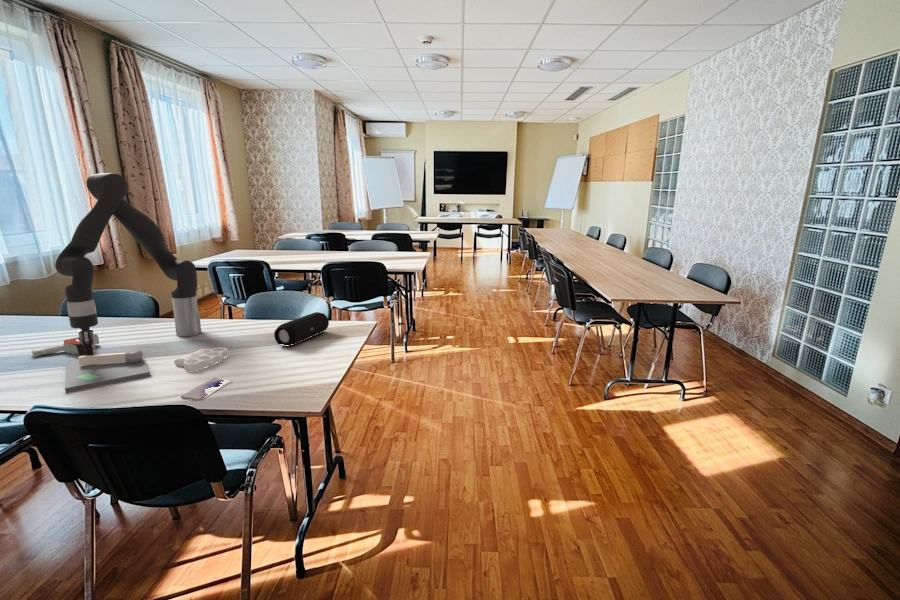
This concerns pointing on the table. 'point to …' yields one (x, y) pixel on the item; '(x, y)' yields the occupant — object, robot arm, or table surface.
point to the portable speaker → (301, 328)
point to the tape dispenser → (66, 347)
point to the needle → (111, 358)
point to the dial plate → (102, 374)
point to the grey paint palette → (202, 358)
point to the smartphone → (202, 390)
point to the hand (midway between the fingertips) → (90, 359)
